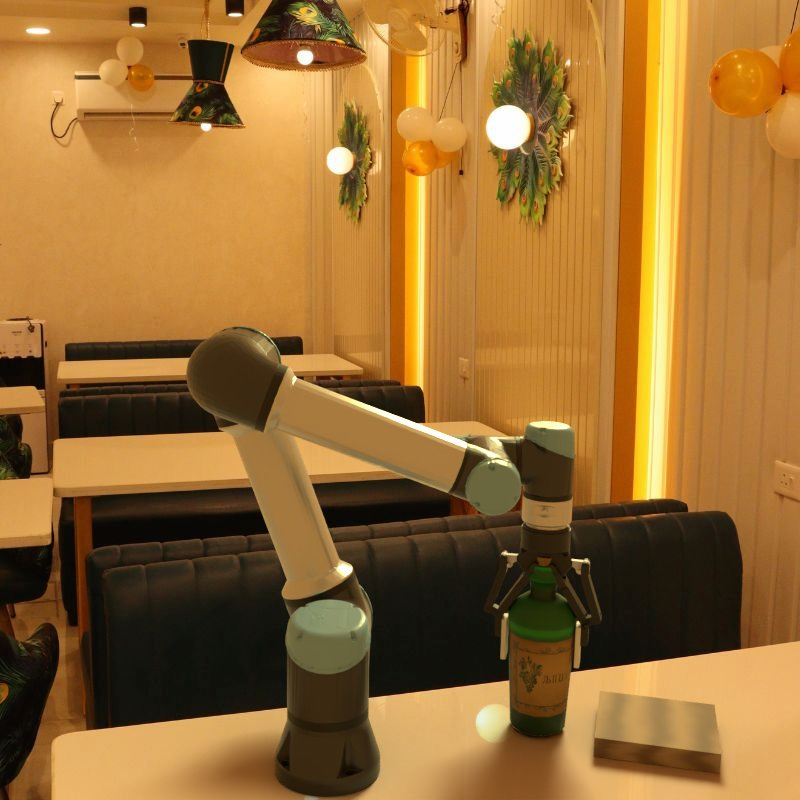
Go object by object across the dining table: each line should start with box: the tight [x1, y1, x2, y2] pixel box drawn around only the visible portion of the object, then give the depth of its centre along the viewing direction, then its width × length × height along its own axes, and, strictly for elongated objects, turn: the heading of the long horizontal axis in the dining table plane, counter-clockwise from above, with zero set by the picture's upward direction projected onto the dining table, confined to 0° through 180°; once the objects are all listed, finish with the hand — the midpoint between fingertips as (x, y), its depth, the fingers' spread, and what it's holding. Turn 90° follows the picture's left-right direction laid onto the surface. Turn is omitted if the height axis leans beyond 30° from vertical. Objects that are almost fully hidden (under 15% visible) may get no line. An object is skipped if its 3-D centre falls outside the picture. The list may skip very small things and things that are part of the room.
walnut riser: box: [593, 690, 722, 774], centre depth 154 cm, size 18×16×3 cm
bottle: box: [507, 557, 578, 737], centre depth 156 cm, size 11×11×28 cm
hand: (540, 660), depth 156 cm, fingers closed on bottle, 11 cm apart
